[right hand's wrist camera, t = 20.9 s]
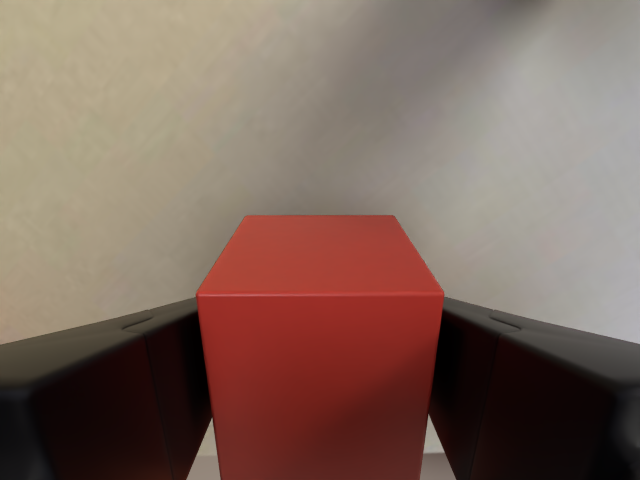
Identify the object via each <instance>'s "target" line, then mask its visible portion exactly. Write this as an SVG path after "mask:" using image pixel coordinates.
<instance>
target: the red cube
mask: <svg viewBox="0 0 640 480" xmlns="http://www.w3.org/2000/svg"><path fill="white" fill-rule="evenodd" d="M196 301H197V308H198V316H199V323H200V330H201V338H202V345H203V352H204V360H205V367H206V374H207V382H208V389H209V396H210V404H211V411H212V418H213V426H214V433H215V441H216V448H217V455H218V463H219V470H220V477H221V480H420V473H421V465H422V458H423V450H424V443H425V435H426V428H427V421H428V413H429V406H430V398H431V391H432V383H433V376H434V369H435V361H436V354H437V346H438V339H439V331H440V324H441V316H442V309H443V302H444V292H443V290H442V288H441V287H440V285H439V284H438V282H437V281H436V279H435V278H434V276H433V275H432V273H431V271H430V270H429V268H428V267H427V265H426V264H425V262H424V261H423V259H422V258H421V256H420V255H419V253H418V252H417V250H416V249H415V247H414V245H413V244H412V242H411V241H410V239H409V238H408V236H407V235H406V233H405V232H404V230H403V229H402V227H401V226H400V224H399V223H398V221H397V219H396V218H395V216H393V215H250V216H245V217H244V219H243V221H242V222H241V224H240V225H239V227H238V228H237V230H236V231H235V233H234V234H233V236H232V238H231V239H230V241H229V242H228V244H227V245H226V247H225V248H224V250H223V252H222V253H221V255H220V256H219V258H218V259H217V261H216V262H215V264H214V266H213V267H212V269H211V270H210V272H209V273H208V275H207V276H206V278H205V280H204V281H203V283H202V284H201V286H200V287H199V289H198V290H197V292H196Z"/></svg>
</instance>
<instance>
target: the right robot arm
mask: <svg viewBox="0 0 640 480" xmlns="http://www.w3.org/2000/svg"><path fill="white" fill-rule="evenodd" d="M429 416H430V418H431V421H432V423H433V425H434V428H435V430H436V432H437V435H438V437H439V440H440V442H441V444H442V447H443V449H444V452H445V454H446V456H447V459H448V461H449V463H450V466H451V468H452V471H453V473H454V475H455V478H456V480H640V344H637V343H633V342H628V341H624V340H620V339H615V338H611V337H607V336H602V335H598V334H594V333H589V332H585V331H581V330H576V329H572V328H567V327H563V326H559V325H554V324H550V323H546V322H541V321H537V320H533V319H529V318H525V317H521V316H517V315H513V314H509V313H505V312H502V311H498V310H494V311H493V310H492V309H489V308H485V307H481V306H477V305H474V304H470V303H466V302H463V301H459V300H455V299H452V298H448V297H444V302H443V309H442V316H441V324H440V331H439V339H438V346H437V354H436V361H435V369H434V376H433V383H432V391H431V398H430V406H429ZM211 419H212V411H211V404H210V396H209V389H208V382H207V374H206V367H205V360H204V352H203V345H202V338H201V330H200V323H199V316H198V308H197V301H196V297H194V298H191V299H187V300H183V301H180V302H176V303H172V304H169V305H165V306H161V307H158V308H154V309H150V310H145V311H141V312H137V313H133V314H129V315H126V316H122V317H118V318H114V319H110V320H106V321H101V322H97V323H93V324H89V325H84V326H80V327H76V328H71V329H67V330H63V331H58V332H54V333H50V334H45V335H41V336H37V337H32V338H28V339H24V340H19V341H15V342H11V343H6V344H2V345H0V480H186V479H187V476H188V474H189V472H190V469H191V467H192V464H193V462H194V460H195V457H196V455H197V452H198V450H199V448H200V445H201V443H202V440H203V438H204V436H205V433H206V431H207V428H208V426H209V423H210V421H211Z"/></svg>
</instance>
